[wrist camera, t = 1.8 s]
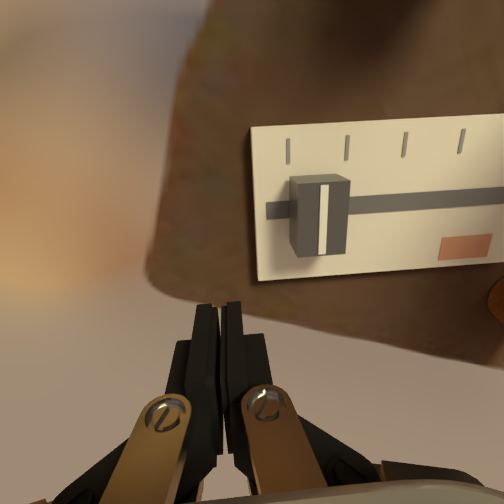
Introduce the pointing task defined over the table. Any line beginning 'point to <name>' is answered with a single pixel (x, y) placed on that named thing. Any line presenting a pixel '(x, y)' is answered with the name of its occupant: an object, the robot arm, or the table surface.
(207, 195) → the table surface
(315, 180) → the fader knob
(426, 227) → the fader console
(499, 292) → the disposable coffee cup
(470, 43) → the table surface
